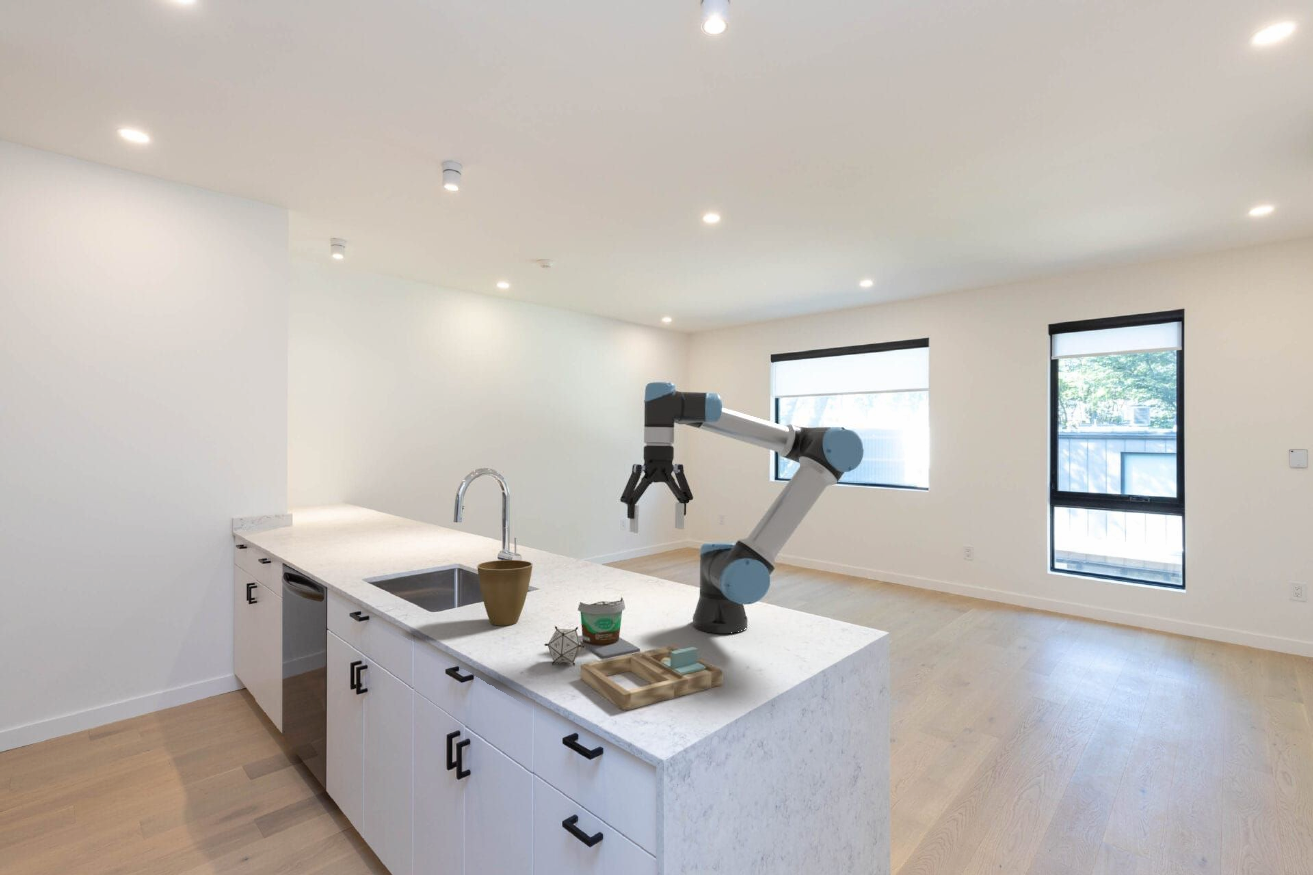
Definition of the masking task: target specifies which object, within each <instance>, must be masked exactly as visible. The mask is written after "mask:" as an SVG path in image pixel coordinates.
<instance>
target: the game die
mask: <svg viewBox="0 0 1313 875" xmlns="http://www.w3.org/2000/svg"><path fill="white" fill-rule="evenodd" d="M554 628H555V631H554V633H553V635H552V637H551V638H550V639H549V641H548V643H544V644H543V645H544V646H547V647H548V650H549V653H550V655H551V659H552V662H551V666H553V665H555V663H572V666H574V667H575V666H576V663H575V661H576V659H577V657H578V655H579V653H580V651H581V649H584V648H586V647H585V646H584V645H582V644H581V643H580V640H579V637H578V636H579V635H578V632H577V630H578V629H579V626H575V628H574V629H572V628H571V629H569V628H568V629H566V628H565V629H564V628H563V629H562V628H558V626H556V625H554Z"/></svg>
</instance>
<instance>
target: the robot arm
mask: <svg viewBox="0 0 1313 875" xmlns="http://www.w3.org/2000/svg"><path fill="white" fill-rule="evenodd" d="M644 392H645V393H644V400H643V403H644V410H643V411H644V415H643V416H644V417H643V418H644V426H643V429H644V431H643V443H644V444H645V445H644V447H643V457H642V458H643V461H644V462H643V465H642V464H640V463H639V464H637V463H634V464H632V467H631V474H630V476H629V478H628V481H627V482H626V484H625V487H624V489H623V492H622V494H621V496H620V499H619V501H620V502H621V503H623V504H625V505H626V507H627V512H626V513H627V518H628V519H629V533H634V534H638V533H639V512H640V511H639V510H640V507H639V505H637V503H638V502H639V500H640V499H641V497H642V496H643V494H644V493H645V492H646V490H647V489H648V488H649V486H650V485H652V484H653V483H665V484H666V485H667V486H668V489H670V491H671V493H672V494H673V495H674V498H675V499H677V501H678V502H675V513H674V514H675V515H674V516H675V517H674V519H675V520H674V529H677V530H678V529H679V530H684V529H685V516H686V514H687V504H689V503H690V501H692V500H693V499H694V496H693V493H692V491H691V488H690V486H689V485H690V484H689V483H688V480H687V478H686V475H685V472H684V465H683V464H681V463H675V464H674V463H673V461H674V458H675V448H674V446H672V445H673V444H674V443H675V424H677V425H685V426H690V427H692V428H696V429H701V430H704V431H707V432H709V433H713V434H718V435H720V436H723V437H726V438H731V439H734V440H737V441H740V442H744V443H747V444H751V445H753V446H756V447H757V446H758V447H759V448H760V447H761V448H764V449H767V450H770V451H773V452H777V454H778V455H779V457H781V458H785V459H787V460H791V461H793V462H796V463H799V467H798V469H797V470H796V472H795V473H794V474H792V475H793V476H792V477H791V478H790V480H789V481H788V482H787V483H786V485H785V486H784V488H783V489H782V490H781V492H780V493H779V494H778V496H777V497H776V498H775V500H774V502H772V504H771V505H770V507H769V508H768V510H767V511H766V512H765V513H764V514H763V516H762V518H761V519H759V521H758V523H757V524H756V525H755V527H754V528H753V529H752V531H751V532H750V533H749V535H748V537H746V538H741V539H738V540H737V541H736V542H707V543H706V542H705V543H703V544H702V545H701V547H700V553H699V597H698V601H697V604H696V608H695V610H694V613H693V615H692V626H693V627H694V628H695V629H697V630H699V631H701V632H702V631H703V632H704V633H705V632H706V633H710V632H713V633H712V634H718V633H731V632H738V631H741V630H744V629H745V628H747V629H748V617H747V615H746V614H747V613H746V610H745V605H753V604H756V603H757V602H759V601H761V600H762V599H763V598H764V597H765V596H766V595H767V594H768V591H769V589H770V586H771V574H772V573H773V572H774V571H775V569H776V562H775V559H776V557H777V556H778V554H779V553H780V551H781V550H782V549H783V547H784V546H785V545H786V543H787V542H788V540H789V539H790V538H791V537H792V535H793V534H794V533H795V531H796V530H797V529H798V527H799V525H800V524H801V523H802V521H803V520H804V518H805V517H806V516H807V515H808V513H809V511H810V510H811V509H812V507H813V506H815V505H814V504H816V502H817V501H818V499H819V498H820V497H821V495H822V494H823V493H824V491H825V490H826V488H827V487H828V486H834V485H837V483H838V482H839V481H840V480H841V478H842V477H843V475H844V474H845V473H849V472H851V471H853V470H855V469H856V468H857V467H859V466H860V464H861V463H862V460H863V458H864V453H865V452H864V451H865V450H864V446H863V444H864V443H863V441H862V439H861V437H860V436H859V434H858V433H857V432H856V431H855V430H853V429H852V428H849V427H847V426H841V425H833V426H831V427H830V426H821V427H817V426H816V427H805V426H798V425H797V426H796V425H794V424H787V425H786V426H785V425H782V424H779V423H776V422H772V421H769V420H765V419H762V418H759V417H755V416H752V415H749V414H745V413H742V412H740V411H735V410H733V409H730V408H726V407H723V402H722V398H721V396H720V395H719V394H718V393H715V392H708V391H707V392H706V391H705V392H697V391H696V392H693V391H688V392H687V391H678V390H676V386H675V384H674V383H673V382H666V381H657V382H654V381H653V382H649V383H647V384H646V386H645V390H644ZM672 473H674V476H675V477H674V476H673V474H672ZM642 474H644V475H643V476H642ZM641 476H642V477H641ZM676 480H677V481H676ZM639 481H640V482H639ZM744 631H745V630H744ZM738 633H739V632H738ZM731 634H732V633H731Z"/></svg>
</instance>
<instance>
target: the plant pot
mask: <svg viewBox="0 0 1313 875" xmlns="http://www.w3.org/2000/svg"><path fill="white" fill-rule="evenodd" d="M476 567H477V574H478V581H479V586H480V593H481V597H482V601H483V605H484V608H485V609H484V610H485V611H486V614H487V618H488V620H489V622H490V624H491V625H493V626H499V627H502V626H511V625H514V624H517V623H518V622H519V620H520V617H521V614H522V612H523V608H524V606H525V602H526V598H527V596H528V592H529V587H530V583H531V578H532V571H533V563H532V562H531V561H527V560H520V559H502V560H501V559H499V560H491V561H483V562H481V563H480V562H479V564H477V566H476Z"/></svg>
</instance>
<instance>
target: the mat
mask: <svg viewBox="0 0 1313 875" xmlns="http://www.w3.org/2000/svg"><path fill="white" fill-rule="evenodd" d="M578 637H579V640H580V643H581V645H584V646H585V647H584V648H586V649H587V650H589V651H591V652H593V653H594V654H595V655H598V656H599V657H600V658H602V660H605V659H610V658H615V657H620V656H625V655H629V654H634V653H639V652H641V648H640V647H639V646H636V645H634V644H632V643H631V642H629V641H627V640H625V639H623V638H622V637H620V636H619V641H618V642H616V643H614V644H611V645H604V646H597V645H590V644H586V643H584V642H583V638H582V634H581V635H578Z"/></svg>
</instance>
